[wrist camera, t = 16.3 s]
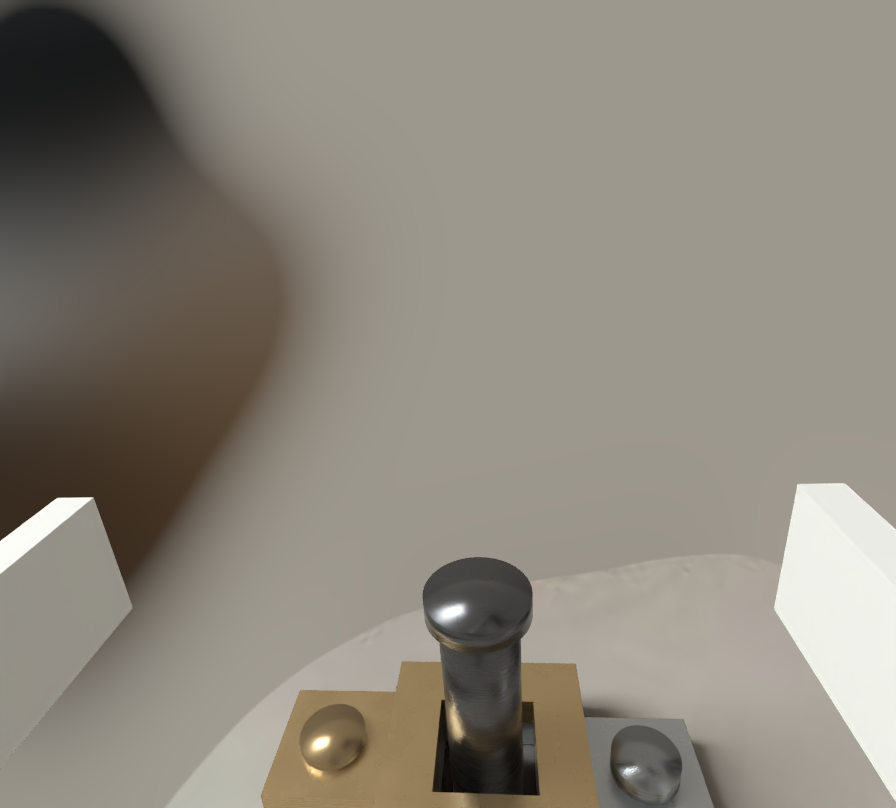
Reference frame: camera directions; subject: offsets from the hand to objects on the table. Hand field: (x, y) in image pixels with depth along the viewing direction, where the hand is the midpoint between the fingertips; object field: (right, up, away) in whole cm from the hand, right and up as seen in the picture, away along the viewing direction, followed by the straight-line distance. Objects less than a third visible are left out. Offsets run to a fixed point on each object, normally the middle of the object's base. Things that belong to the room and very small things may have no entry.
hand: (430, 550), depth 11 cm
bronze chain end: (0, -19, +22) cm, 29 cm away
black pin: (+3, -19, +21) cm, 29 cm away
